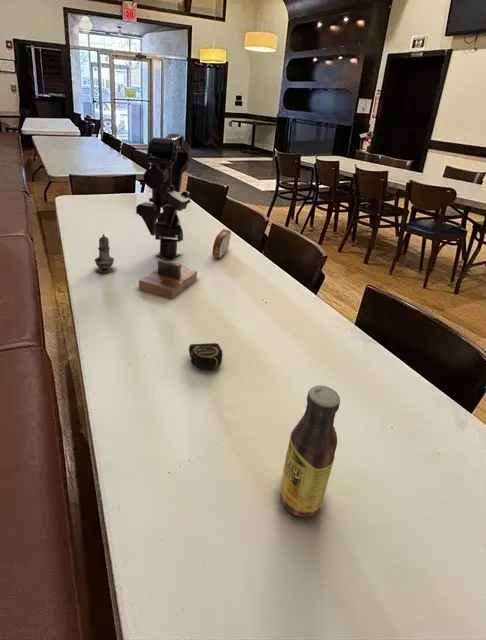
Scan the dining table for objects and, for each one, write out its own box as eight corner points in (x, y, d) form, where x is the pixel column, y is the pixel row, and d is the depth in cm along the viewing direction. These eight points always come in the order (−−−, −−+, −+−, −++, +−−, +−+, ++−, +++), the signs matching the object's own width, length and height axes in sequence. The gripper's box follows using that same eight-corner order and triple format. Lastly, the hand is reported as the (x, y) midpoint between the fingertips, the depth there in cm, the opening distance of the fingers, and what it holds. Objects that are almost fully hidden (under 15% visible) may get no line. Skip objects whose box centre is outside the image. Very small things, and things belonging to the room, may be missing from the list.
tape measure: (218, 354, 93) (219, 339, 91) (224, 373, 87) (225, 358, 85) (188, 355, 91) (189, 340, 90) (191, 375, 85) (192, 359, 84)
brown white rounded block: (222, 246, 157) (224, 225, 154) (230, 248, 157) (232, 227, 154) (210, 260, 144) (212, 237, 141) (219, 262, 143) (221, 239, 140)
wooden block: (165, 271, 132) (165, 262, 131) (196, 279, 128) (197, 270, 127) (138, 289, 119) (138, 279, 118) (172, 299, 115) (172, 289, 114)
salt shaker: (117, 267, 132) (116, 232, 128) (110, 275, 127) (109, 238, 122) (99, 265, 132) (97, 230, 128) (91, 272, 127) (90, 236, 123)
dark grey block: (157, 273, 123) (157, 260, 121) (160, 271, 124) (160, 258, 123) (178, 279, 121) (178, 265, 119) (180, 277, 122) (181, 263, 120)
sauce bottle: (274, 482, 63) (292, 375, 56) (314, 481, 64) (337, 376, 56) (284, 523, 57) (305, 410, 50) (327, 522, 58) (355, 410, 50)
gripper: (169, 191, 112) (167, 245, 118) (200, 181, 128) (197, 228, 134) (134, 185, 116) (135, 237, 121) (169, 175, 132) (167, 222, 138)
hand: (160, 231), depth 128 cm, fingers open, 9 cm apart
